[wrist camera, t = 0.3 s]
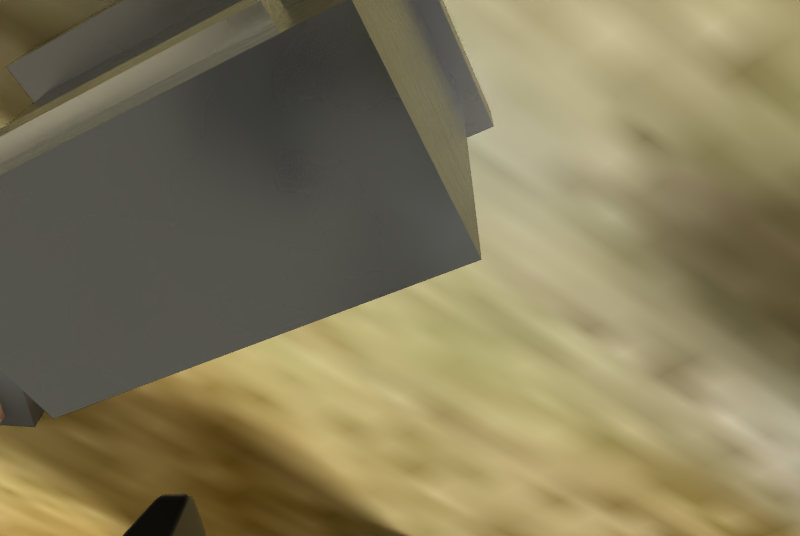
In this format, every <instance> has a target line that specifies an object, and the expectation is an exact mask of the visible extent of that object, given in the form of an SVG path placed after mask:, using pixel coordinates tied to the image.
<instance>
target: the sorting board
mask: <svg viewBox="0 0 800 536" xmlns="http://www.w3.org/2000/svg"><path fill="white" fill-rule="evenodd" d="M43 412H44V410H43V409H42V408H41V407H40V406H39V405H38V404H37V403H36V402H35V401H34V400H33V399H32V398H31V397H30V396H28V395H27V394H26V393H25V392H24V391H23V390H22V389H21V388H20V387H19V386H18V385H17V384H16V383H15V382H13V381H12V380H11V379H10V378H9V377H8V376H7V375H6V374H5V373H4V372H3V371H2V370H1V369H0V425H10V426H25V427H35V426H36V424H37V422H38V421H39V419H40V417H41V416H42V414H43Z"/></svg>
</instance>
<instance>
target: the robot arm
mask: <svg viewBox="0 0 800 536" xmlns="http://www.w3.org/2000/svg"><path fill="white" fill-rule="evenodd" d="M123 536H206V534H205V530H204V527H203V524H202V521H201V518H200V515H199V512H198V509H197V507H196V504H195V501H194V499H193V497H192V496H190V495H189V494H167V495H162V496H160V497H159V498H157V499H156V500H155V501H154V502H153V503H152V504H151V505H150V506H149V507H148V508H147V510H146V511H145V512H144V513H143V514H142V515H141V516H140V517H139V518H138V519H137V520H136V522H135V523H134V524H133V525H132V526H131V527H130V528H129V529H128V530H127V531H126V532H125V534H124V535H123Z"/></svg>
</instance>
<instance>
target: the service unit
mask: <svg viewBox="0 0 800 536" xmlns="http://www.w3.org/2000/svg"><path fill="white" fill-rule="evenodd" d="M6 68H7V69H8V70H9V71H10V73H11V74H12V75H13V76H14V78H15V79H16V80H17V81H18V83H19V84H20V85H21V86H22V88H23V89H24V90H25V91H26V92H27V94H28V95H29V96H30V97H31V99H32V100H33V101H34V103H33V104H32V105H30V106H29V107H28V108H27V109H26V110H24V111H23V112H22V113H21V114H20V115H18V116H17V117H16V118H15V119H14V120H12V121H11V122H10V123H9V124H8V125H6V126H4V127H2V128H0V369H1V370H2V371H3V372H4V373H5V374H6V375H7V376H8V377H9V378H10V379H11V380H12V381H13V382H15V383H16V384H17V385H18V386H19V387H20V388H21V389H22V390H23V391H24V392H25V393H26V394H27V395H28V396H30V397H31V398H32V399H33V400H34V401H35V402H36V403H37V404H38V405H39V406H40V407H41V408H42V409H43V410H45V411H46V412H47V413H48V414H49V415H50V416H51V417H52V418H53V419H54V418H57V417H59V416H62V415H65V414H67V413H70V412H73V411H75V410H78V409H81V408H84V407H86V406H89V405H92V404H94V403H97V402H100V401H102V400H105V399H108V398H110V397H113V396H116V395H118V394H121V393H124V392H127V391H129V390H132V389H135V388H137V387H140V386H143V385H145V384H148V383H151V382H153V381H156V380H159V379H161V378H164V377H167V376H170V375H172V374H175V373H178V372H180V371H183V370H186V369H188V368H191V367H194V366H196V365H199V364H202V363H205V362H207V361H210V360H213V359H215V358H218V357H221V356H223V355H226V354H229V353H231V352H234V351H237V350H239V349H242V348H245V347H248V346H250V345H253V344H256V343H258V342H261V341H264V340H266V339H269V338H272V337H274V336H277V335H280V334H282V333H285V332H288V331H291V330H293V329H296V328H299V327H301V326H304V325H307V324H309V323H312V322H315V321H317V320H320V319H323V318H326V317H328V316H331V315H334V314H336V313H339V312H342V311H344V310H347V309H350V308H352V307H355V306H358V305H360V304H363V303H366V302H369V301H371V300H374V299H377V298H379V297H382V296H385V295H387V294H390V293H393V292H395V291H398V290H401V289H403V288H406V287H409V286H412V285H414V284H417V283H420V282H422V281H425V280H428V279H430V278H433V277H436V276H438V275H441V274H444V273H447V272H449V271H452V270H455V269H457V268H460V267H463V266H465V265H468V264H471V263H473V262H476V261H479V260H481V252H480V243H479V235H478V227H477V219H476V211H475V202H474V194H473V186H472V178H471V170H470V161H469V153H468V145H467V137H469V136H472V135H474V134H477V133H479V132H481V131H484V130H486V129H488V128H491V127H493V121H492V116H491V112H490V109H489V107H488V105H487V102H486V100H485V98H484V95H483V93H482V91H481V88H480V86H479V84H478V81H477V79H476V77H475V74H474V72H473V70H472V68H471V65H470V63H469V61H468V58H467V56H466V54H465V51H464V49H463V47H462V44H461V42H460V40H459V37H458V35H457V33H456V30H455V28H454V26H453V23H452V21H451V19H450V16H449V14H448V12H447V9H446V7H445V5H444V2H443V0H120V1H118V2H117V3H115V4H113V5H111V6H110V7H108V8H106V9H104V10H102V11H101V12H99V13H97V14H95V15H93V16H92V17H90V18H88V19H86V20H85V21H83V22H81V23H79V24H77V25H76V26H74V27H72V28H70V29H68V30H67V31H65V32H63V33H61V34H60V35H58V36H56V37H54V38H52V39H51V40H49V41H47V42H45V43H43V44H42V45H40V46H38V47H36V48H35V49H33V50H31V51H29V52H27V53H26V54H24V55H22V56H21V57H19V58H18V59H17V60H15V61H14V62H12V63H11V64H9V65H8V66H6Z"/></svg>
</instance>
